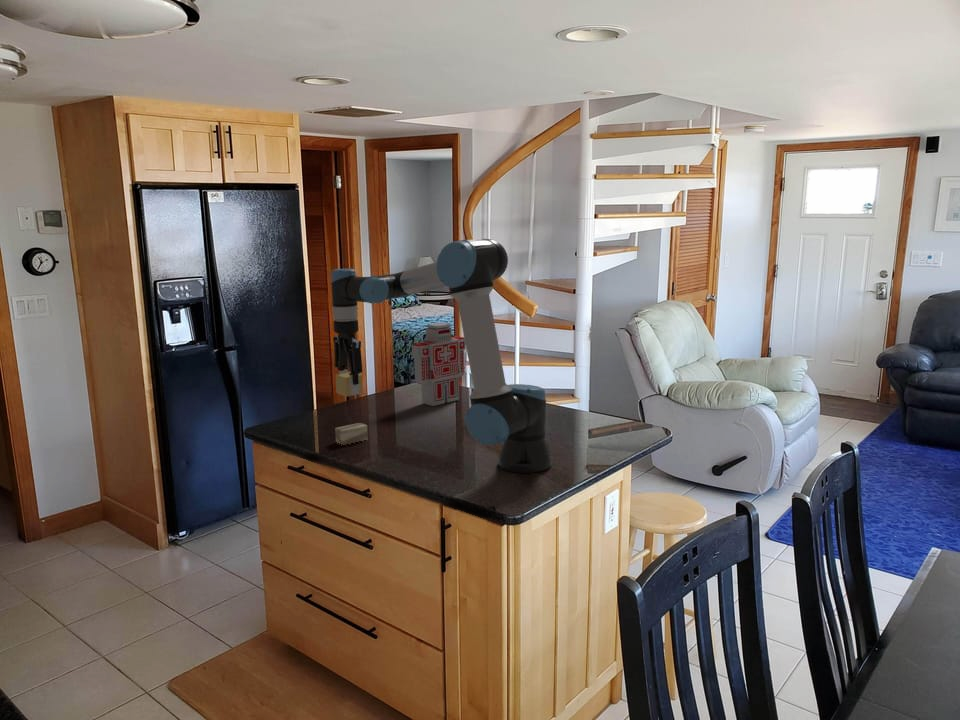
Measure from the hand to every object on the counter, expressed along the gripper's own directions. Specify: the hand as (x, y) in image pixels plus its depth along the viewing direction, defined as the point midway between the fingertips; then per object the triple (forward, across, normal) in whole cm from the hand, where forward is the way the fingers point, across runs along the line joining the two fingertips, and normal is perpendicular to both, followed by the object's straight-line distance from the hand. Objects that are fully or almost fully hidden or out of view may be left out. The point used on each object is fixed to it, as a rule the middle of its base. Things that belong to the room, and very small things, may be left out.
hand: (349, 392), depth 227 cm
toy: (+16, +20, -49) cm, 55 cm away
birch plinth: (+16, 0, 0) cm, 16 cm away
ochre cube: (0, 0, 0) cm, 0 cm away
